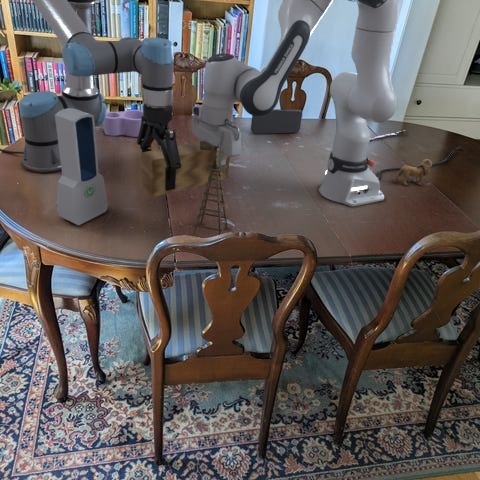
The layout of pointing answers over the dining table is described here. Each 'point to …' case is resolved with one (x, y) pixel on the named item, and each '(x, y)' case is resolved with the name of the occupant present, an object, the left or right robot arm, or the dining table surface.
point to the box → (186, 176)
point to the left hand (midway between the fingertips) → (158, 180)
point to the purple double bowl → (123, 123)
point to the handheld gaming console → (277, 122)
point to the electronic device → (79, 168)
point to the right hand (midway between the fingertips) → (214, 159)
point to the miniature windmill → (215, 168)
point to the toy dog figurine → (415, 171)
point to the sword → (386, 135)
